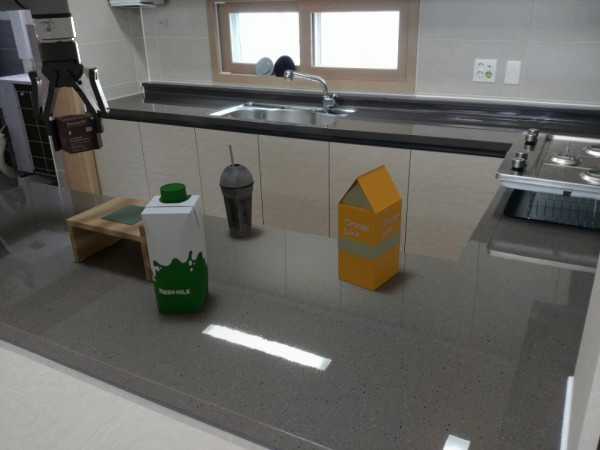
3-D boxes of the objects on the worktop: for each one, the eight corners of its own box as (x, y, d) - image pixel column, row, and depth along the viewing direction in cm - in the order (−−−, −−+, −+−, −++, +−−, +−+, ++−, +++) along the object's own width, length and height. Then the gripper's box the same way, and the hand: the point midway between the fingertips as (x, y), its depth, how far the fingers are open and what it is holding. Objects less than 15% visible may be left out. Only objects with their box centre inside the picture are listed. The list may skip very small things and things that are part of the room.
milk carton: (214, 288, 95) (202, 181, 88) (204, 316, 87) (190, 201, 79) (165, 288, 96) (149, 182, 88) (151, 316, 88) (132, 202, 80)
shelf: (75, 260, 107) (63, 209, 103) (126, 234, 118) (117, 187, 114) (151, 281, 98) (142, 226, 94) (198, 250, 110) (192, 200, 105)
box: (69, 155, 115) (62, 121, 112) (60, 150, 119) (53, 117, 116) (98, 149, 118) (91, 116, 115) (88, 144, 122) (81, 112, 120)
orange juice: (399, 271, 99) (404, 167, 91) (373, 291, 93) (376, 181, 85) (363, 260, 104) (365, 160, 96) (337, 278, 98) (336, 173, 90)
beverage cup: (263, 229, 118) (258, 141, 110) (244, 242, 113) (237, 150, 105) (237, 224, 122) (230, 137, 114) (217, 236, 116) (208, 146, 108)
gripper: (-4, 44, 106) (23, 155, 115) (103, 39, 106) (122, 151, 115) (12, 41, 112) (37, 146, 121) (113, 37, 113) (131, 142, 122)
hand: (79, 148), depth 118 cm, fingers closed on box, 8 cm apart
